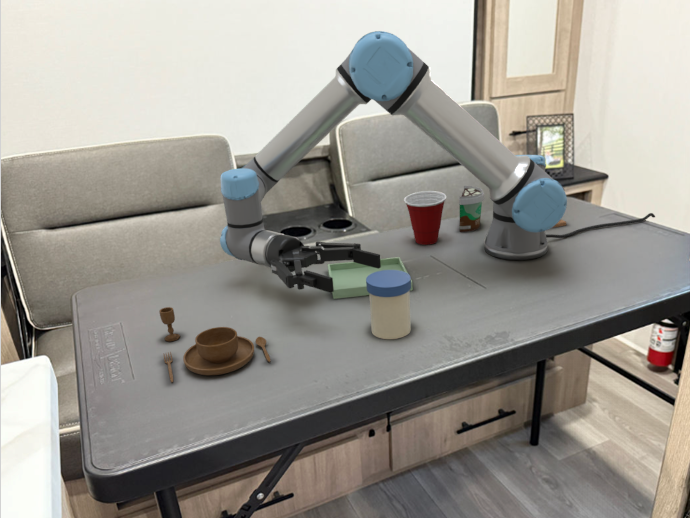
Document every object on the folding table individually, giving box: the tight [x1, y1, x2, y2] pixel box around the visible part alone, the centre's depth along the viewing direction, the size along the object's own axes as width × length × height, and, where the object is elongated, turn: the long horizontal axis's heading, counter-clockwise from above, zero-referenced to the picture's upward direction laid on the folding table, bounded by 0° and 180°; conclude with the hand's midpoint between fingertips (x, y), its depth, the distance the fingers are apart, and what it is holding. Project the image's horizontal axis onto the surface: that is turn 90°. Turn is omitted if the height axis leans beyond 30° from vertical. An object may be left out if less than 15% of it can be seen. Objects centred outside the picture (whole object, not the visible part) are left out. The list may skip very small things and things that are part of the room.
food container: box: [458, 185, 486, 233], centre depth 164 cm, size 12×6×10 cm, turn 168°
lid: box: [366, 270, 412, 297], centre depth 109 cm, size 8×8×2 cm
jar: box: [368, 290, 412, 340], centre depth 111 cm, size 7×7×10 cm
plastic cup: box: [403, 190, 447, 246], centre depth 154 cm, size 11×11×12 cm
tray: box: [326, 256, 414, 300], centre depth 134 cm, size 17×15×2 cm
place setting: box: [158, 306, 271, 383], centre depth 107 cm, size 18×20×6 cm
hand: (356, 273), depth 113 cm, fingers open, 13 cm apart
